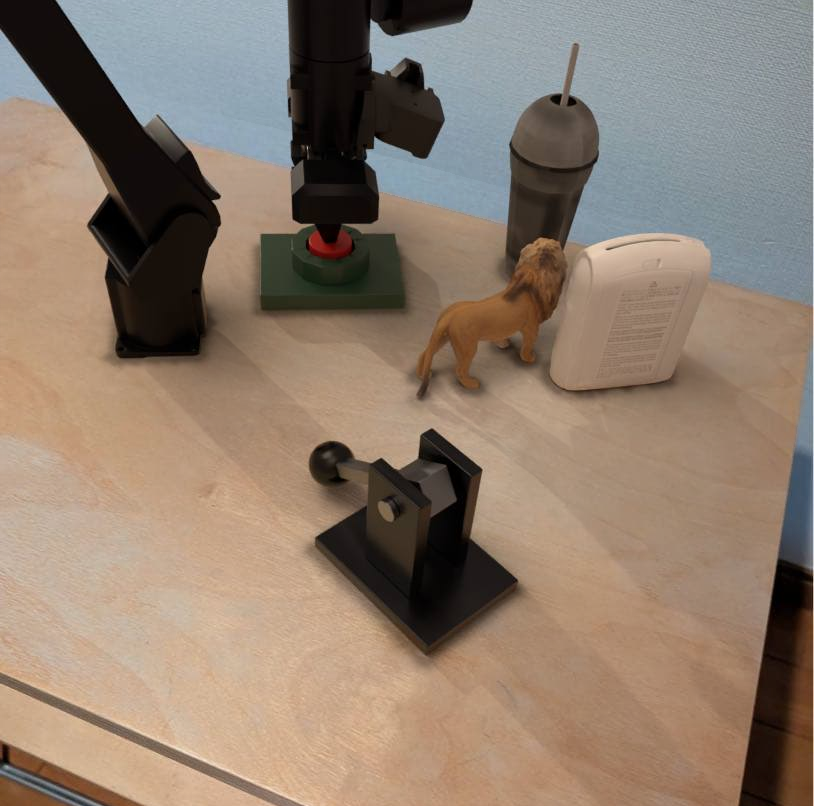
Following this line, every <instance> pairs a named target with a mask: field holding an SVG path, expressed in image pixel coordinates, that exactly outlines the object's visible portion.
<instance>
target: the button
mask: <svg viewBox="0 0 814 806" xmlns="http://www.w3.org/2000/svg"><path fill="white" fill-rule="evenodd" d="M309 252H310V253H311V254H312V255H314V256H317V257H320V258H324V259H339V258H342V257H345V256H348V255H350V254H351V253H352V240H351V237H350V236H349V235H348V234H347V233H345V232H344V231H341V230H340V232H339V235H338V239H337V242H335V243H325V242H323V240H322V238H321V236H320V234H319V232H318V231H316V232H314V233H313V234H312V235H311V236H310V238H309Z"/></svg>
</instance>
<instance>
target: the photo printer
mask: <svg viewBox="0 0 814 806" xmlns="http://www.w3.org/2000/svg"><path fill="white" fill-rule="evenodd" d="M711 273H712V254H711V250H710V249H709V248H708V247H706V246H705V244H704V241H702V240H700V239H697V238H694V237H691V236H687V235H682V234H675V233H663V232H655V233H654V232H653V233H651V232H649V233H637V234H631V235H624V236H619V237H615V238H611V239H607V240H603V241H600V242H598V243H595V244H592V245H589V246H588V247H585V248H584V249H581V250H580V251H579V253H578V254H577V256H576V258H575V260H574V263H573V267H572V272H571V275H570V280H569V284H568V287H567V291H566V292H567V293H566V295H565V299H564V302H563V303H564V304H563V307H562V310H561V315H560V320H559V324H558V327H557V331H556V335H555V340H554V343H553V348H552V351H551V358H550V363H551V364H550V367H549V375H550V379H552V381H553V382H554V384H556V385H557V387H560V388H561V389H564V390H567V391H587V390H600V389H608V388H620V387H627V386H636V385H637V386H639V385H647V384H654V383H655V384H656V383H661V382H665V381H668V380H669V379H671V377H672V376H673V374H674V372H675V370H676V367H677V364H678V361H679V358H680V356H681V353H682V351H683V349H684V346H685V343H686V340H687V337H688V336H689V332H690V330H691V328H692V325H693V322H694V319H695V317H696V314H697V313H698V309H699V307H700V304H701V301H702V299H703V296H704V294H705V292H706V289H707V286H708V285H709V281H710V279H711Z"/></svg>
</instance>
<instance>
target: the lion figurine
mask: <svg viewBox="0 0 814 806" xmlns="http://www.w3.org/2000/svg"><path fill="white" fill-rule="evenodd" d="M520 255H521V256H520V259H519V262H518V264H517V265H516V267H515V273H514V274H513V276H512V278H510V281H509V284H508V285H507V286H506V288H505V289H504V290H502V291H500V292H499V293H497V294H494V295H492V296H489V297H486V298H484V299H480V300H475V301H474V300H460V301H457V302H454V303H451V304H449V305H447V307H445V308H444V309H443V310H442V311H441V312H440V314H439V316H438V318H437V321H436V324H435V327H434V330H433V332H432V334H431V337H430V339H429V342H428V344H427V346H426V348H425V349H424V350H423V351H422V352H420V354H419V356H418V359H417V365H416V370H415V375H416V377H417V378H418V379H420V380H421V383H420V386H419V388H418V390H417V392H416V397H417V398H421V397H424V396H425V395H426V393H427V390H428V388H429V383H430V378H432V377H433V371H432V370H433V369H432V368H431V367H432V363H433V360H434V356H435V355H436V354H437V353H438V352H440V350H442V349H443V348H444V347H445V346H446V345H447V344H448V343H449V342H450V345H451V347H452V351H453V353H454V355H455V358H456V367H455V370H454V375H455V377H456V378H457V379H458V380H459V381H460V383H461V384H462V386H464V388H465V389H468V390H477V389H480V385H481V383H480V381H479V379H478V378H477V377H476V376H470V374H469V369H470V366H471V364H472V362H473V360H474V358H475V357H476V355H477V353H478V346H479V342H480V341H481V342H486V343H487V342H488V343H491V342H494V344H495V346H496V347H498V348H499V349H505V348H508V347H509V346H510V344H511V340H510V337H512V336H513V335H516V333H518V332H520V334H521V336H522V342H521V346H520V348H519V351H518V353H519V356H520V359H521V361H522V362H526V363H534V362H535V360H536V355H535V352H534V351H532V349H533V347H534V345H535V343H536V340H537V338H538V336H539V330H540V327H539V326H540V325H541V324H543V323H544V322H546V321H548V320H549V319H551V318H552V316H553V313H554V311H555V310H556V308H557V307H558V304H559V300H560V297H561V295H562V294H563V287H564V283H565V281H566V279H567V269H568V267H569V263H568V260H567V259H566V254H565V252H564V250H562V248H561V246H560V242H558V241H557V242H556V241H555V240H553V239H547V238H539V239H537V241H534V243H533V244H528V245H527V246H526V247H525V248H523V249H522V250H521V253H520Z"/></svg>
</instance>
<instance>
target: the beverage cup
mask: <svg viewBox="0 0 814 806" xmlns="http://www.w3.org/2000/svg"><path fill="white" fill-rule="evenodd" d="M579 51H580V43H578V42H573V43H572V46H571V51H570V55H569V61H568V66H567V70H566V75H565V80H564V85H563V89H562V93H560V92H556V93H549V94H547V95H544V96H541V97H539V98H538V99H536V100H534V101H533V102H532V103H531V104H529V106H528V107H526V108H525V110H524V111H523V112H522V113H521V115H520V116H519V118H518V119H517V123H516V125H515V128H514V130H513V132H512V136H511V138H510V141H509V143H508V146H509V169H510V174H511V175H510V186H509V200H508V213H507V225H506V238H505V239H506V240H505V266H504V269H505V270H504V271H505V273H506V275H507V276H508V277H509V278H510V279H511V278H512V276H513V274H514V273H515V267H516V265H517V264H518V262H519V259H520V256H521V255H520V253H521V250H522V249H523V248H525V247H526V246H527V245H528V244H533V243H534V241H537V239H539V238H547V239H553V240H555V241H556V242H557V241H558V242H560V246H561V248H562V250H563V251H565V247H566V243H567V241H568V238H569V235H570V232H571V228H572V226H573V222H574V220H575V216H576V213H577V211H578V207H579V204H580V201H581V198H582V195H583V192H584V189H585V186H586V184H588V181H589V179H590V177H591V175H592V173H593V171H594V170H593V169H594V166H595V165H596V164H597V163H598V160H599V158H600V157H599V156H600V149H599V148H600V147H599V146H600V131H599V126H598V124H597V120H596V118H595V115H594V114H593V112H592V110H591V109H590V108H589V106H588V105H587V104H586V103H585V102H584V101H583V100H582V99H580V98H579V97H576V96H574V95H572V94H570V92H571V88H572V84H573V79H574V75H575V74H574V73H575V69H576V64H577V59H578V55H579Z"/></svg>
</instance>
